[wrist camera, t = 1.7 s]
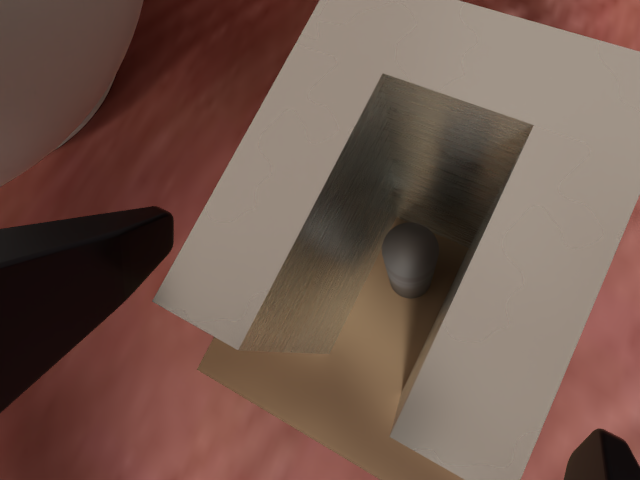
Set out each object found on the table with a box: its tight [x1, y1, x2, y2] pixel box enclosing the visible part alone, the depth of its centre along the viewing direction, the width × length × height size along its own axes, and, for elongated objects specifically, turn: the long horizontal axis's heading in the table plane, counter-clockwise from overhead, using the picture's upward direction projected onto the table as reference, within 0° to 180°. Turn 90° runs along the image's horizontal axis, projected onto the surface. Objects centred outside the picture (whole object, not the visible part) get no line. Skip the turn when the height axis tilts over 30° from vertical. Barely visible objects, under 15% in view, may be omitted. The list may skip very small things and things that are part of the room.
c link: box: [152, 0, 640, 480], centre depth 13 cm, size 8×7×10 cm
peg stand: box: [197, 217, 469, 480], centre depth 16 cm, size 14×12×6 cm
